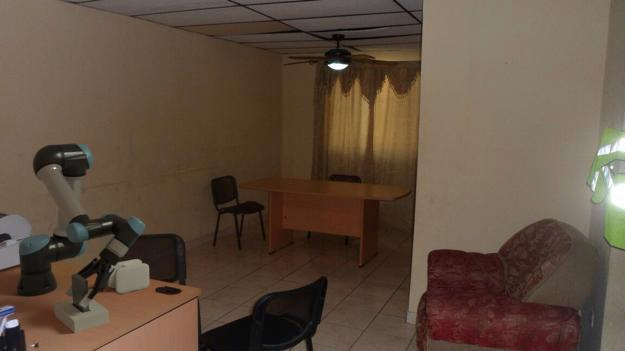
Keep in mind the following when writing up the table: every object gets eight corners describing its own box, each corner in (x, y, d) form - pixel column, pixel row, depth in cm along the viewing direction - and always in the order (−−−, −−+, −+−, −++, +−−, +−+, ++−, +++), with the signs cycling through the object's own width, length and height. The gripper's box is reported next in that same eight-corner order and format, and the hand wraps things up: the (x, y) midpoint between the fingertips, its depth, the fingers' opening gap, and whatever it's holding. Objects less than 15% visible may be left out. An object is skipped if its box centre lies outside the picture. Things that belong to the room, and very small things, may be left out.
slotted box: (54, 318, 177) (53, 303, 176) (87, 309, 186) (86, 295, 185) (75, 337, 163) (74, 320, 163) (109, 326, 172) (108, 310, 171)
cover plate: (73, 315, 177) (71, 274, 175) (79, 313, 178) (77, 273, 176) (84, 323, 170) (81, 281, 168) (89, 322, 172) (87, 280, 169)
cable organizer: (115, 296, 199) (114, 270, 197) (107, 288, 207) (106, 263, 205) (149, 288, 209) (149, 263, 207) (141, 281, 217) (140, 257, 215)
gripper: (135, 265, 174) (96, 315, 165) (106, 250, 191) (69, 295, 182) (121, 254, 170) (79, 305, 161) (92, 240, 186) (54, 286, 178)
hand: (74, 300), depth 172 cm, fingers open, 13 cm apart
